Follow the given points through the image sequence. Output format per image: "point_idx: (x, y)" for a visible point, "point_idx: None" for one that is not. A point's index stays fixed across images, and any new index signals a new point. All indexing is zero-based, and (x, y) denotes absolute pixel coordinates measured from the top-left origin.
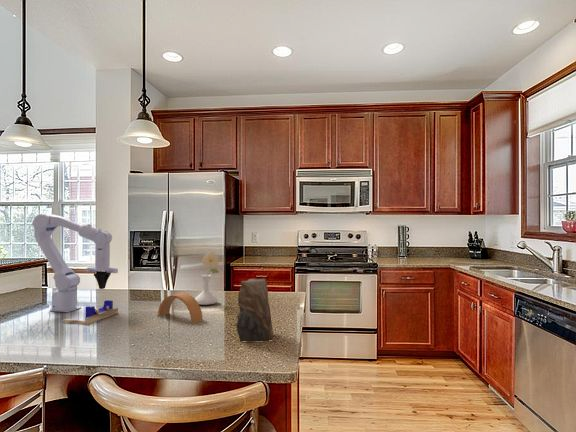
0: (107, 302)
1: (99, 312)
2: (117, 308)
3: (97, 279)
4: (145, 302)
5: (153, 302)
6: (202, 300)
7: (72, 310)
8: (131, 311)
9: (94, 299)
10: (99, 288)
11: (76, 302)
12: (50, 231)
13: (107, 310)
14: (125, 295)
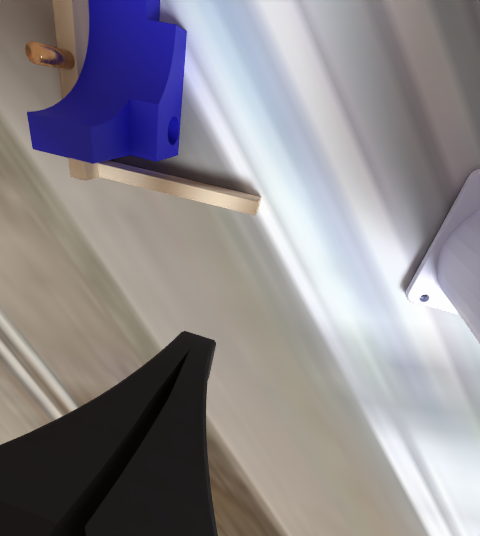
0: (64, 118)
1: (141, 61)
2: (74, 170)
3: (178, 438)
4: (113, 382)
5: (80, 377)
6: None
7: (448, 215)
8: (53, 213)
9: (406, 472)
10: (209, 341)
11: (454, 292)
12: None
13: (59, 48)
14: (277, 503)
